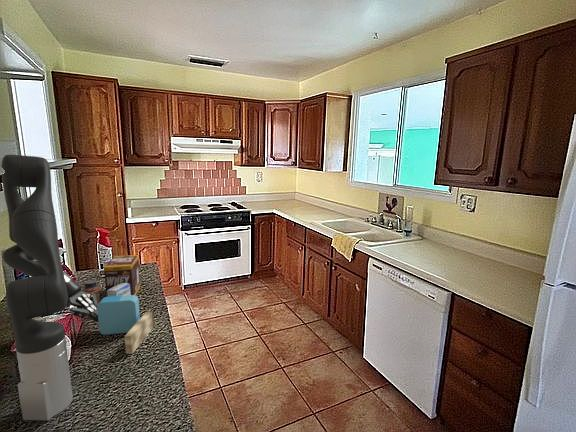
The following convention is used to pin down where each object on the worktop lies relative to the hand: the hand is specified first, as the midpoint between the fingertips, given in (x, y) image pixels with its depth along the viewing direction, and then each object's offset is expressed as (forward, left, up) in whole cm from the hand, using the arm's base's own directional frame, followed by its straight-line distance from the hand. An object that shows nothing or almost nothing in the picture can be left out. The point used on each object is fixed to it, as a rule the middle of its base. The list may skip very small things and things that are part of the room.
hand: (100, 319), depth 111 cm
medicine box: (+17, +3, -4) cm, 18 cm away
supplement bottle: (+15, +13, -4) cm, 20 cm away
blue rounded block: (0, -7, -4) cm, 8 cm away
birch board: (-6, -16, -4) cm, 18 cm away
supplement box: (+29, +7, -4) cm, 30 cm away
